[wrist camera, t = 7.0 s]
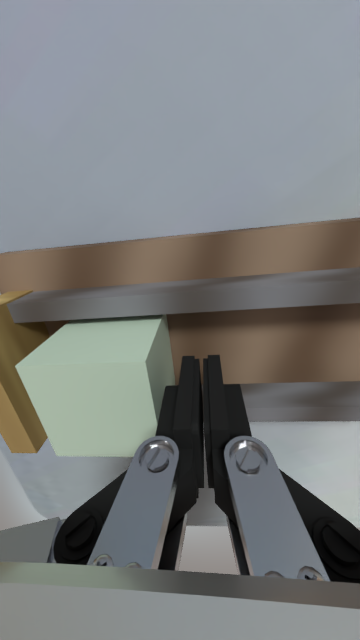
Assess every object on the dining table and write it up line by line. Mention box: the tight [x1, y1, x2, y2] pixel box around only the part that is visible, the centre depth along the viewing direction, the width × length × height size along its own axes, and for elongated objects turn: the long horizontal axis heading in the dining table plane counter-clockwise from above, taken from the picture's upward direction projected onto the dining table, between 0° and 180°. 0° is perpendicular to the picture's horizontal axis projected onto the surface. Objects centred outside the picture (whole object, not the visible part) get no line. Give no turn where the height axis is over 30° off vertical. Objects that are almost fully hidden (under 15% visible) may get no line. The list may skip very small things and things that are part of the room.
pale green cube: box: [15, 314, 175, 457], centre depth 12 cm, size 5×5×5 cm
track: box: [0, 218, 360, 453], centre depth 13 cm, size 23×12×6 cm, turn 96°
